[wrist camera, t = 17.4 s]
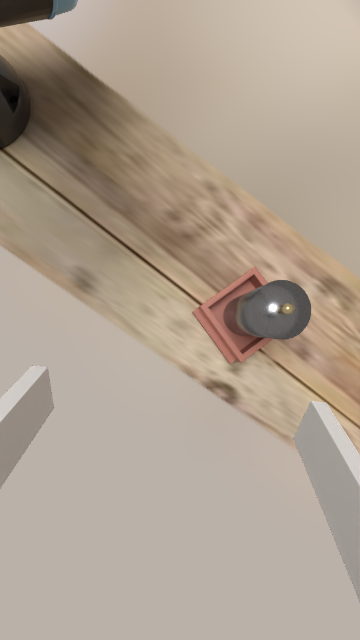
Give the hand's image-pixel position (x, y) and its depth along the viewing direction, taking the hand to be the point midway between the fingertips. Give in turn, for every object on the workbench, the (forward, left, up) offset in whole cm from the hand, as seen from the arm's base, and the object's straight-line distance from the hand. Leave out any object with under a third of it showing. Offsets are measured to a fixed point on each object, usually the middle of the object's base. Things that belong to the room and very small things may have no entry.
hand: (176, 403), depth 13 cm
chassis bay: (+1, +12, -27) cm, 30 cm away
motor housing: (+1, +12, -26) cm, 29 cm away
